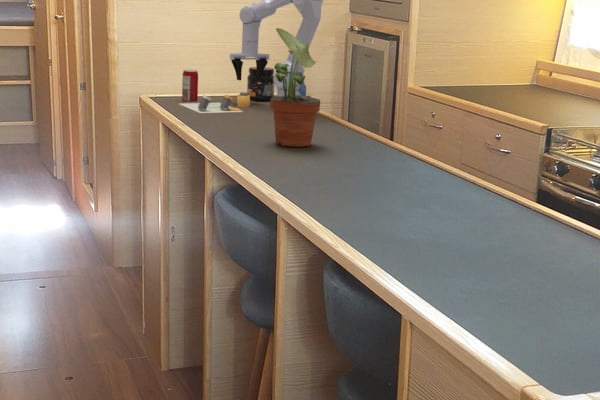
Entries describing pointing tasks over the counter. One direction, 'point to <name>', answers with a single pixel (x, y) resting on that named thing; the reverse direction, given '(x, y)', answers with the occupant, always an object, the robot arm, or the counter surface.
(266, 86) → the supplement container
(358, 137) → the counter surface
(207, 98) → the breaker
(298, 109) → the potted plant
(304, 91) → the perfume bottle
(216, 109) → the panel
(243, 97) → the cap
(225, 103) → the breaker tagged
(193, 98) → the soda can
